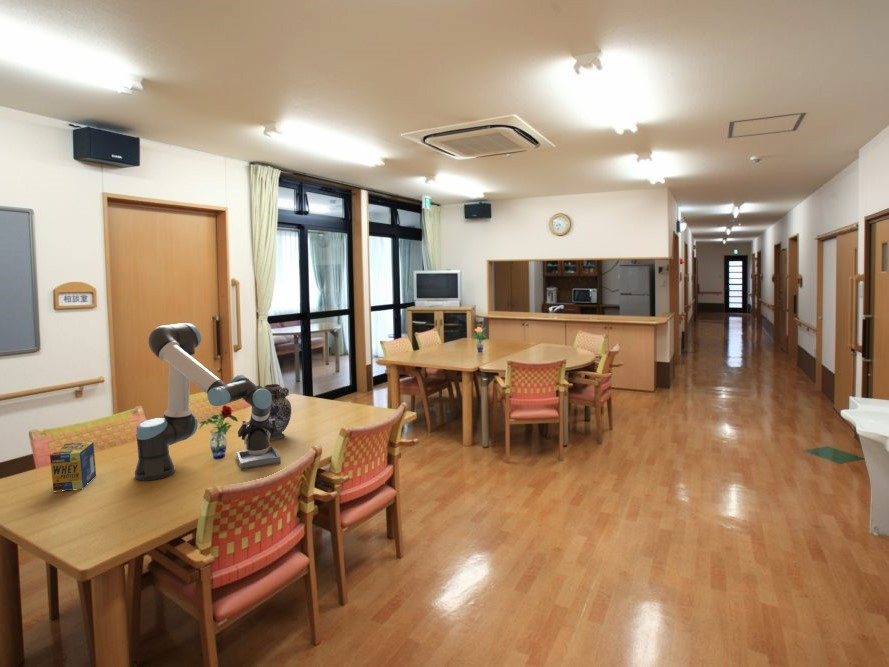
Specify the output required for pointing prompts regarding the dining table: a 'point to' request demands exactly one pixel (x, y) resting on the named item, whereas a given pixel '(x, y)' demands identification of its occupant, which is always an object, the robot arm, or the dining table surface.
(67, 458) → the protein box
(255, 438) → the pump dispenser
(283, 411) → the decorative vase
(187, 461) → the dining table surface
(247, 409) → the dining table surface
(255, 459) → the tray
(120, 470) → the dining table surface
